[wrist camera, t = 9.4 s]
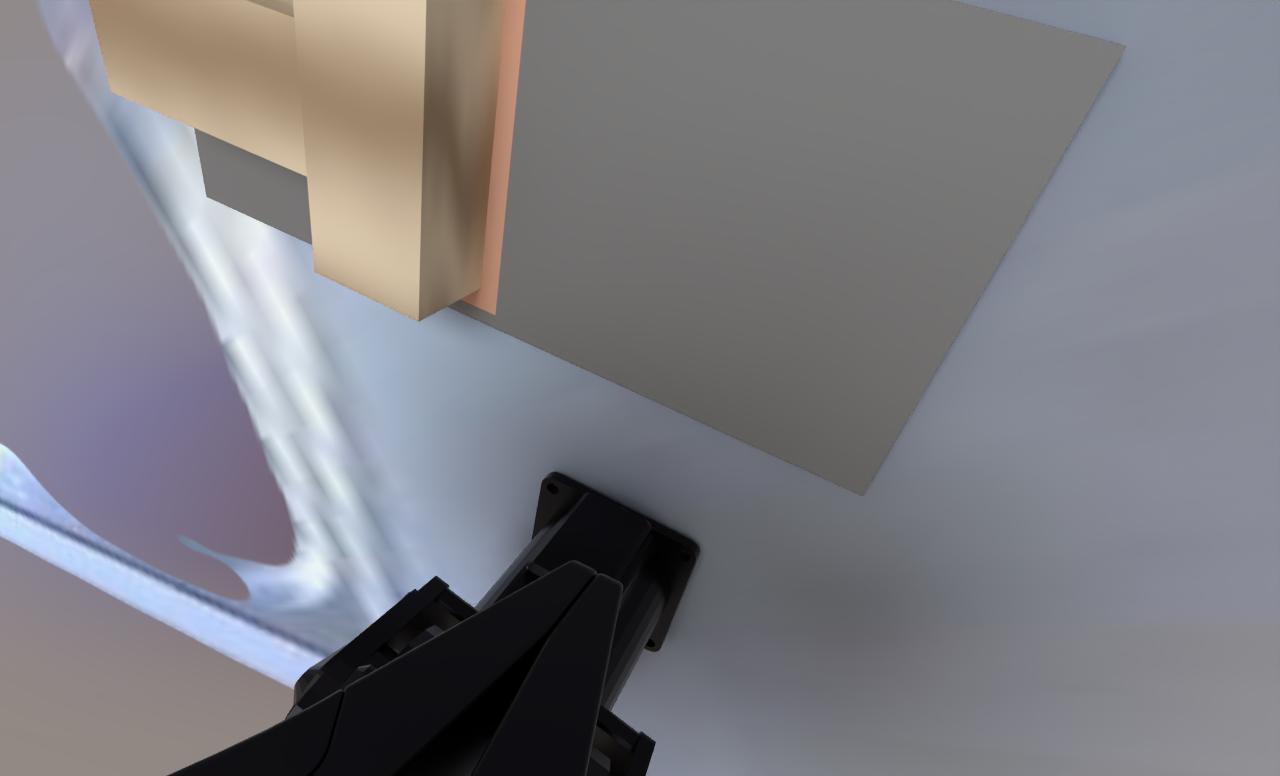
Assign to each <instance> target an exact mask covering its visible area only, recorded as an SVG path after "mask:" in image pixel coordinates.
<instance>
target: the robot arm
mask: <svg viewBox="0 0 1280 776" xmlns="http://www.w3.org/2000/svg"><path fill="white" fill-rule="evenodd" d="M555 485H556V486H557V487H556V486H555ZM682 550H683V551H685V552H687V553H688V554H686V553H684V552H683V551H682ZM699 554H700V550H699V547H698V546H697V544H696V543H695V542H693V541H692V540H691V539H689V538H687V537H685V536H683V535H681V534H679V533H677V532H675V531H673V530H671V529H669V528H667V527H665V526H663V525H661V524H659V523H657V522H655V521H653V520H651V519H649V518H647V517H645V516H643V515H641V514H639V513H637V512H635V511H633V510H631V509H629V508H627V507H625V506H623V505H621V504H619V503H617V502H615V501H613V500H611V499H610V498H608V497H606V496H604V495H602V494H600V493H598V492H596V491H594V490H592V489H590V488H588V487H586V486H584V485H582V484H580V483H578V482H576V481H574V480H572V479H570V478H568V477H566V476H564V475H562V474H560V473H557V472H551V473H550V474H548V475H547V476H546V477H545V478H544V480H543V481H542V484H541V490H540V495H539V501H538V507H537V512H536V518H535V524H534V530H533V535H532V541H531V542H530V543H529V544H528V546H527V547H526V548H525V549H524V550H523V552H522V553H521V554H520V555H519V556H518V557H517V559H516V560H515V561H514V562H513V563H512V564H511V566H510V567H509V568H508V569H507V570H506V571H505V573H504V574H503V575H502V576H501V577H500V578H499V580H498V581H497V582H496V583H495V584H494V585H493V587H492V588H491V589H490V590H489V591H488V593H487V594H486V595H485V596H484V597H483V598H482V600H481V601H480V602H479V603H478V604H477V605H476V607H475V608H473V607H472V606H471V605H470V604H468V603H467V602H466V601H464V600H463V599H462V598H460V597H459V596H458V595H456V594H455V593H454V592H452V591H451V590H450V589H449V585H448V584H447V583H445V582H444V581H443V580H441V579H440V578H439V577H438V576H435V577H434V578H433V579H431V580H430V581H429V582H428V583H427V584H426V585H424V586H423V587H422V588H421V589H420V590H418V591H417V590H416V589H414V590H413V591H411V592H409V593H408V594H407V595H406V596H405V597H404V598H403V599H402V600H401V601H399V602H398V603H397V604H396V605H395V606H393V607H392V608H391V609H390V610H389V611H387V612H386V613H385V614H384V615H383V616H381V617H380V618H379V619H378V620H377V621H375V622H374V623H373V624H372V625H371V626H369V627H368V628H367V629H366V630H365V631H363V632H362V633H361V634H360V635H359V636H357V637H356V638H355V639H354V640H353V641H351V642H350V643H349V644H347V645H345V646H344V647H342V648H341V649H339V650H338V651H336V652H334V653H333V654H331V655H330V656H328V657H326V658H325V659H323V660H322V661H320V662H319V663H317V664H315V665H314V666H312V667H311V668H309V669H308V670H307V671H306V672H305V673H304V674H303V675H302V676H301V677H300V678H299V680H298V681H297V682H296V684H295V687H294V706H293V707H292V709H291V710H290V712H289V713H288V715H287V717H286V718H285V720H284V721H282V722H280V723H278V724H276V725H274V726H273V727H271V728H269V729H267V730H265V731H263V732H261V733H258V734H256V735H254V736H252V737H250V738H248V739H246V740H244V741H242V742H240V743H237V744H235V745H233V746H231V747H229V748H227V749H225V750H223V751H220V752H218V753H216V754H214V755H212V756H210V757H207V758H205V759H203V760H201V761H199V762H196V763H194V764H192V765H190V766H188V767H185V768H183V769H181V770H179V771H176V772H174V773H173V774H170V775H167V776H646V772H647V769H648V766H649V763H650V760H651V756H652V753H653V750H654V747H655V743H656V742H655V741H654V740H652V739H651V738H650V737H648V736H647V735H646V734H644V733H643V732H642V731H641V732H640V733H638V732H637V731H635V730H634V729H633V728H631V727H630V726H629V725H628V724H626V723H625V722H624V721H622V720H621V719H620V718H618V717H617V716H616V715H614V714H613V713H612V712H610V711H611V710H612V708H613V706H614V704H615V702H616V700H617V698H618V696H619V694H620V692H621V691H622V689H623V687H624V685H625V683H626V681H627V679H628V677H629V675H630V674H631V672H632V670H633V668H634V666H635V664H636V662H637V660H638V658H639V656H640V655H641V653H642V651H643V649H644V648H645V649H647V650H649V651H652V652H656V651H659V650H660V648H661V646H662V644H663V642H664V640H665V638H666V635H667V633H668V630H669V628H670V626H671V623H672V621H673V618H674V616H675V613H676V611H677V608H678V606H679V604H680V601H681V599H682V596H683V594H684V591H685V589H686V587H687V584H688V582H689V579H690V577H691V574H692V572H693V569H694V567H695V565H696V562H697V560H698V557H699Z"/></svg>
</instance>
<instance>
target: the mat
mask: <svg viewBox="0 0 1280 776" xmlns="http://www.w3.org/2000/svg"><path fill="white" fill-rule="evenodd" d="M1126 47H1127V46H1125V45H1122V44H1118V43H1114V42H1110V41H1106V40H1102V39H1098V38H1095V37H1091V36H1087V35H1083V34H1079V33H1075V32H1071V31H1068V30H1064V29H1060V28H1056V27H1052V26H1048V25H1045V24H1041V23H1037V22H1033V21H1029V20H1025V19H1021V18H1018V17H1014V16H1010V15H1006V14H1002V13H998V12H994V11H991V10H987V9H983V8H979V7H975V6H971V5H967V4H964V3H960V2H956V1H952V0H506V2H505V14H504V25H503V37H502V48H501V60H500V71H499V83H498V94H497V106H496V117H495V129H494V140H493V152H492V163H491V175H490V186H489V198H488V209H487V221H486V233H485V244H484V256H483V267H482V279H481V288H480V289H478V290H476V291H475V292H473V293H471V294H469V295H467V296H465V297H463V298H462V299H460V300H458V301H456V302H454V303H452V304H450V305H448V306H447V307H449V308H452V309H454V310H456V311H458V312H460V313H463V314H465V315H467V316H469V317H471V318H474V319H476V320H478V321H480V322H482V323H484V324H487V325H489V326H491V327H493V328H495V329H498V330H500V331H502V332H504V333H506V334H509V335H511V336H513V337H515V338H517V339H520V340H522V341H524V342H526V343H528V344H530V345H533V346H535V347H537V348H539V349H541V350H544V351H546V352H548V353H550V354H552V355H555V356H557V357H559V358H561V359H563V360H566V361H568V362H570V363H572V364H574V365H576V366H579V367H581V368H583V369H585V370H587V371H590V372H592V373H594V374H596V375H598V376H601V377H603V378H605V379H607V380H609V381H612V382H614V383H616V384H618V385H620V386H622V387H625V388H627V389H629V390H631V391H633V392H636V393H638V394H640V395H642V396H644V397H647V398H649V399H651V400H653V401H655V402H658V403H660V404H662V405H664V406H666V407H668V408H671V409H673V410H675V411H677V412H679V413H682V414H684V415H686V416H688V417H690V418H693V419H695V420H697V421H699V422H701V423H704V424H706V425H708V426H710V427H712V428H714V429H717V430H719V431H721V432H723V433H725V434H728V435H730V436H732V437H734V438H736V439H739V440H741V441H743V442H745V443H747V444H750V445H752V446H754V447H756V448H758V449H760V450H763V451H765V452H767V453H769V454H771V455H774V456H776V457H778V458H780V459H782V460H785V461H787V462H789V463H791V464H793V465H796V466H798V467H800V468H802V469H804V470H806V471H809V472H811V473H813V474H815V475H817V476H820V477H822V478H824V479H826V480H828V481H831V482H833V483H835V484H837V485H839V486H842V487H844V488H846V489H848V490H850V491H852V492H855V493H857V494H859V495H861V496H863V495H864V493H865V491H866V490H867V488H868V486H869V485H870V483H871V481H872V479H873V478H874V476H875V474H876V473H877V471H878V469H879V468H880V466H881V464H882V462H883V461H884V459H885V457H886V456H887V454H888V452H889V450H890V449H891V447H892V445H893V444H894V442H895V440H896V439H897V437H898V435H899V433H900V432H901V430H902V428H903V427H904V425H905V423H906V422H907V420H908V418H909V416H910V415H911V413H912V411H913V410H914V408H915V406H916V404H917V403H918V401H919V399H920V398H921V396H922V394H923V393H924V391H925V389H926V387H927V386H928V384H929V382H930V381H931V379H932V377H933V375H934V374H935V372H936V370H937V369H938V367H939V365H940V364H941V362H942V360H943V358H944V357H945V355H946V353H947V352H948V350H949V348H950V347H951V345H952V343H953V341H954V340H955V338H956V336H957V335H958V333H959V331H960V329H961V328H962V326H963V324H964V323H965V321H966V319H967V318H968V316H969V314H970V312H971V311H972V309H973V307H974V306H975V304H976V302H977V300H978V299H979V297H980V295H981V294H982V292H983V290H984V289H985V287H986V285H987V283H988V282H989V280H990V278H991V277H992V275H993V273H994V272H995V270H996V268H997V266H998V265H999V263H1000V261H1001V260H1002V258H1003V256H1004V254H1005V253H1006V251H1007V249H1008V248H1009V246H1010V244H1011V243H1012V241H1013V239H1014V237H1015V236H1016V234H1017V232H1018V231H1019V229H1020V227H1021V225H1022V224H1023V222H1024V220H1025V219H1026V217H1027V215H1028V214H1029V212H1030V210H1031V208H1032V207H1033V205H1034V203H1035V202H1036V200H1037V198H1038V197H1039V195H1040V193H1041V191H1042V190H1043V188H1044V186H1045V185H1046V183H1047V181H1048V179H1049V178H1050V176H1051V174H1052V173H1053V171H1054V169H1055V168H1056V166H1057V164H1058V162H1059V161H1060V159H1061V157H1062V156H1063V154H1064V152H1065V150H1066V149H1067V147H1068V145H1069V144H1070V142H1071V140H1072V139H1073V137H1074V135H1075V133H1076V132H1077V130H1078V128H1079V127H1080V125H1081V123H1082V122H1083V120H1084V118H1085V116H1086V115H1087V113H1088V111H1089V110H1090V108H1091V106H1092V104H1093V103H1094V101H1095V99H1096V98H1097V96H1098V94H1099V93H1100V91H1101V89H1102V87H1103V86H1104V84H1105V82H1106V81H1107V79H1108V77H1109V76H1110V74H1111V72H1112V70H1113V69H1114V67H1115V65H1116V64H1117V62H1118V60H1119V58H1120V57H1121V55H1122V53H1123V52H1124V50H1125V48H1126ZM194 129H195V134H196V140H197V145H198V151H199V157H200V162H201V168H202V173H203V179H204V184H205V190H206V195H207V197H208V198H211V199H213V200H215V201H217V202H219V203H222V204H224V205H226V206H228V207H230V208H233V209H235V210H237V211H239V212H241V213H244V214H246V215H248V216H250V217H252V218H254V219H257V220H259V221H261V222H263V223H265V224H268V225H270V226H272V227H274V228H276V229H279V230H281V231H283V232H285V233H287V234H290V235H292V236H294V237H296V238H298V239H300V240H303V241H305V242H307V243H309V244H311V245H312V233H311V221H310V208H309V196H308V183H307V177H306V176H304V175H302V174H299V173H297V172H295V171H293V170H290V169H288V168H286V167H283V166H281V165H279V164H276V163H274V162H272V161H270V160H267V159H265V158H263V157H260V156H258V155H256V154H253V153H251V152H249V151H246V150H244V149H242V148H240V147H237V146H235V145H233V144H230V143H228V142H226V141H223V140H221V139H219V138H217V137H214V136H212V135H210V134H207V133H205V132H203V131H200V130H198V129H196V128H194Z"/></svg>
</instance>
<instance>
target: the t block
mask: <svg viewBox="0 0 1280 776" xmlns="http://www.w3.org/2000/svg"><path fill="white" fill-rule="evenodd" d="M505 2H506V0H89V3H90V7H91V11H92V15H93V19H94V24H95V28H96V32H97V36H98V40H99V44H100V49H101V53H102V57H103V61H104V65H105V69H106V74H107V78H108V82H109V86H110V90H111V92H113V93H115V94H118V95H120V96H122V97H124V98H127V99H129V100H131V101H134V102H136V103H138V104H141V105H143V106H145V107H148V108H150V109H152V110H154V111H157V112H159V113H161V114H164V115H166V116H168V117H171V118H173V119H175V120H177V121H180V122H182V123H184V124H187V125H189V126H191V127H194V128H196V129H198V130H200V131H203V132H205V133H207V134H210V135H212V136H214V137H217V138H219V139H221V140H223V141H226V142H228V143H230V144H233V145H235V146H237V147H240V148H242V149H244V150H246V151H249V152H251V153H253V154H256V155H258V156H260V157H263V158H265V159H267V160H270V161H272V162H274V163H276V164H279V165H281V166H283V167H286V168H288V169H290V170H293V171H295V172H297V173H299V174H302V175H304V176H306V177H307V183H308V196H309V208H310V221H311V233H312V246H313V258H314V271H315V272H316V273H318V274H320V275H322V276H324V277H326V278H328V279H330V280H332V281H335V282H337V283H339V284H341V285H343V286H345V287H347V288H349V289H351V290H353V291H356V292H358V293H360V294H362V295H364V296H366V297H368V298H370V299H372V300H374V301H376V302H379V303H381V304H383V305H385V306H387V307H389V308H391V309H393V310H395V311H397V312H399V313H402V314H404V315H406V316H408V317H410V318H412V319H414V320H416V321H418V322H419V321H421V320H422V319H424V318H426V317H428V316H430V315H432V314H434V313H435V312H437V311H439V310H441V309H443V308H445V307H447V306H448V305H450V304H452V303H454V302H456V301H458V300H460V299H462V298H463V297H465V296H467V295H469V294H471V293H473V292H475V291H476V290H478V289H480V288H481V279H482V267H483V256H484V244H485V233H486V221H487V209H488V198H489V186H490V175H491V163H492V152H493V140H494V129H495V117H496V106H497V94H498V83H499V71H500V60H501V48H502V37H503V25H504V14H505Z"/></svg>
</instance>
